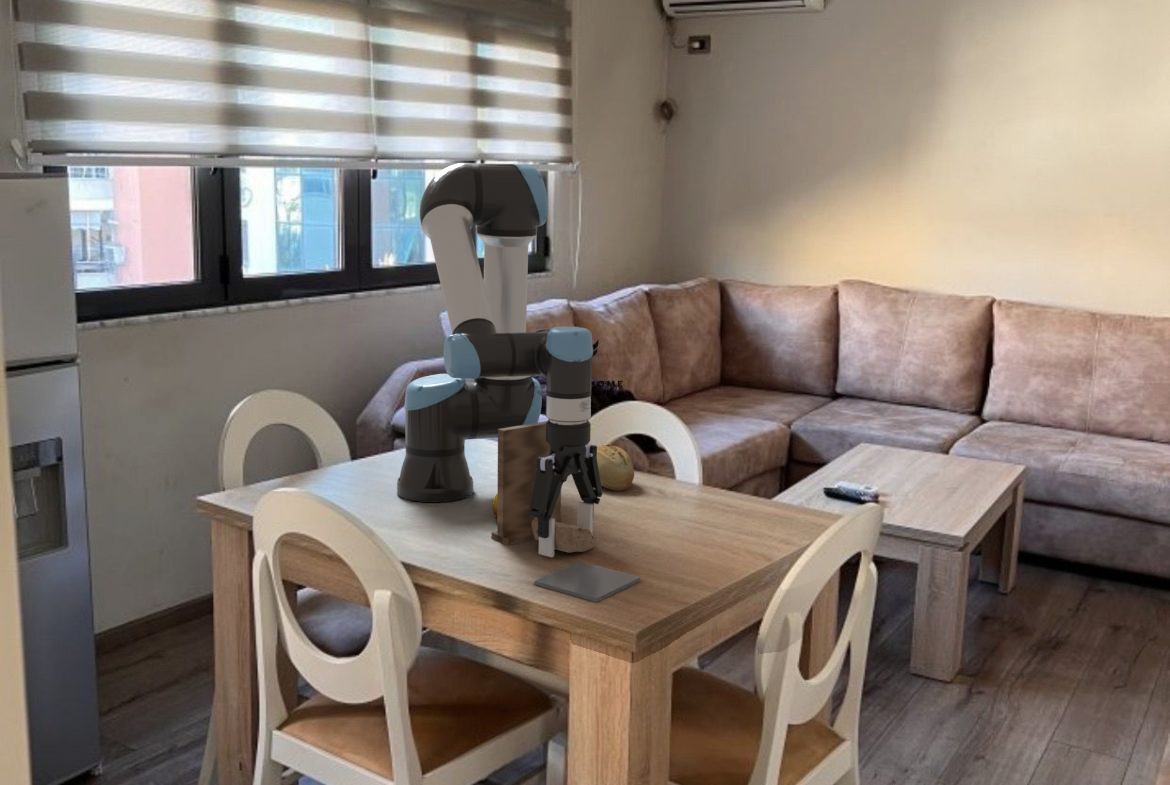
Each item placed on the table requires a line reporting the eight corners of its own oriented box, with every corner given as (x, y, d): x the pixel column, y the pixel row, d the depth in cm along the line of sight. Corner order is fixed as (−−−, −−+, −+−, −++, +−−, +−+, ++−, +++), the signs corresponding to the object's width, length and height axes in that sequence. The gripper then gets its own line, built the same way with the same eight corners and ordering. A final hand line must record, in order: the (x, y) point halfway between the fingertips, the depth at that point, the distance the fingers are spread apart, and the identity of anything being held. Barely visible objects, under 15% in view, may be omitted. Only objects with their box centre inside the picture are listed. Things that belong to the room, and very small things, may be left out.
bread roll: (603, 473, 253) (604, 436, 251) (646, 489, 241) (647, 451, 239) (566, 479, 247) (567, 442, 246) (608, 495, 235) (609, 457, 234)
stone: (556, 555, 194) (559, 525, 194) (525, 540, 204) (528, 512, 204) (602, 554, 199) (605, 525, 199) (569, 540, 209) (572, 513, 208)
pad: (534, 584, 185) (534, 580, 185) (580, 564, 194) (580, 561, 194) (596, 602, 178) (596, 598, 178) (640, 580, 187) (640, 577, 187)
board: (508, 545, 203) (509, 432, 199) (491, 537, 207) (492, 427, 203) (566, 531, 212) (568, 422, 208) (548, 524, 215) (550, 417, 212)
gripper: (543, 435, 185) (541, 569, 190) (625, 412, 203) (621, 535, 208) (507, 427, 190) (506, 559, 194) (590, 406, 208) (587, 527, 212)
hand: (565, 547), depth 201 cm, fingers closed on stone, 10 cm apart
